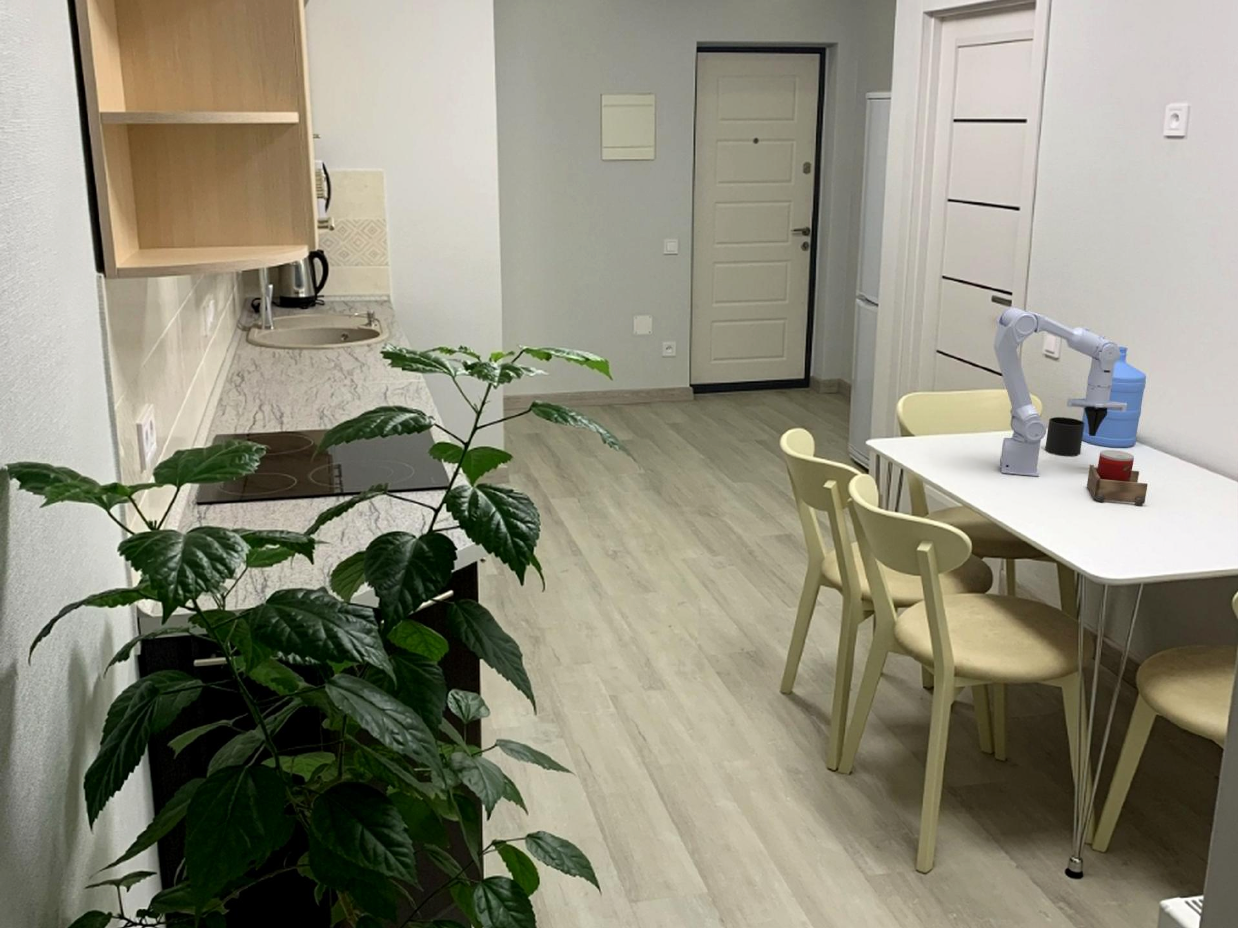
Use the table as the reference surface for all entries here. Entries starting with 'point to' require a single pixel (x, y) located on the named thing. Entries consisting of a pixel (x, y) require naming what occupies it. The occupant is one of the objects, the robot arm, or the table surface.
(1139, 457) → the table surface
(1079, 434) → the mug
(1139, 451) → the table surface
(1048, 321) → the robot arm
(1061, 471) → the table surface
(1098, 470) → the canned food
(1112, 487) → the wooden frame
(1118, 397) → the water jug
